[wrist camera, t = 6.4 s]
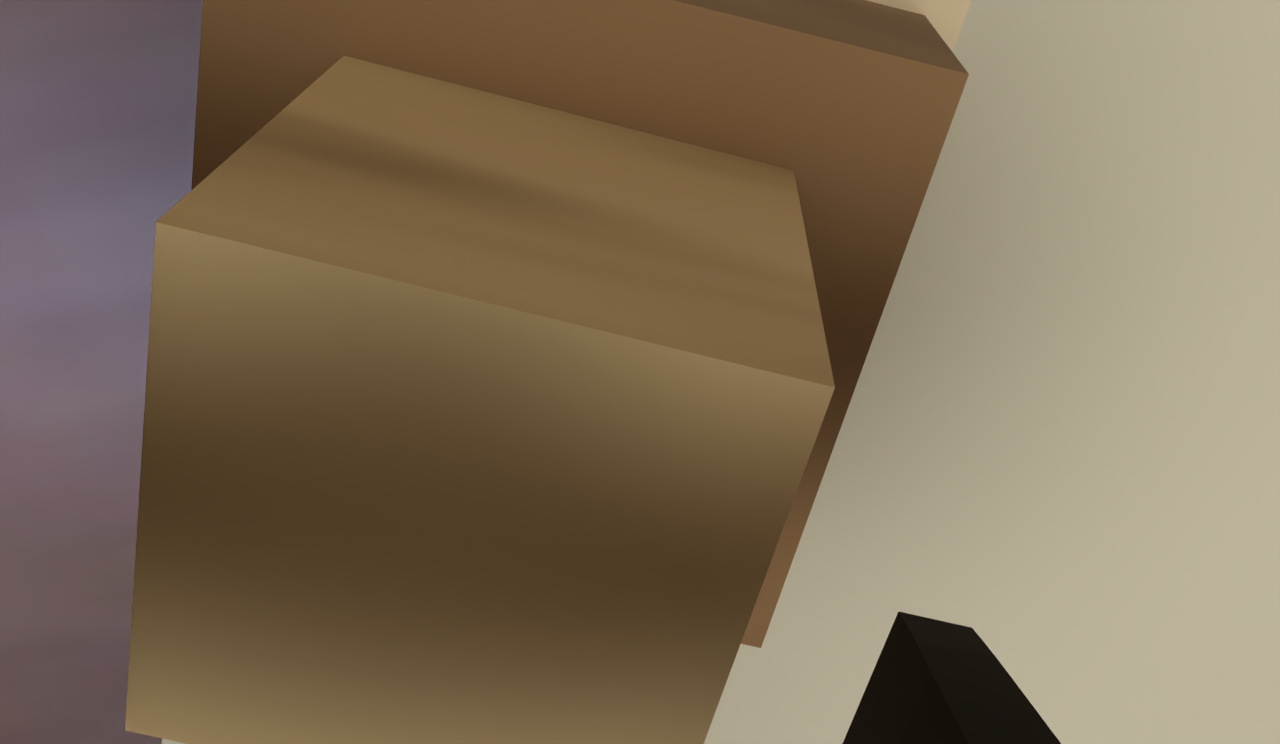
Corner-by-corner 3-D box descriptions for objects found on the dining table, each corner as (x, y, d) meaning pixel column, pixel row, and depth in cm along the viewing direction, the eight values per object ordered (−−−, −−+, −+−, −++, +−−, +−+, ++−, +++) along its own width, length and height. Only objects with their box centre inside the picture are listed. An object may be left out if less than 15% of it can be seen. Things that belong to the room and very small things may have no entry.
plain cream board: (1260, 970, 25) (1278, 1012, 24) (176, 747, 23) (158, 783, 23) (1935, 52, 16) (1999, 69, 15) (258, -392, 15) (233, -399, 14)
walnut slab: (754, 520, 19) (761, 647, 16) (248, 407, 19) (171, 519, 16) (924, 14, 15) (969, 73, 13) (298, -143, 15) (209, -117, 12)
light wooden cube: (678, 532, 16) (665, 846, 11) (294, 442, 15) (125, 730, 11) (793, 170, 13) (834, 386, 9) (344, 55, 13) (155, 221, 9)
